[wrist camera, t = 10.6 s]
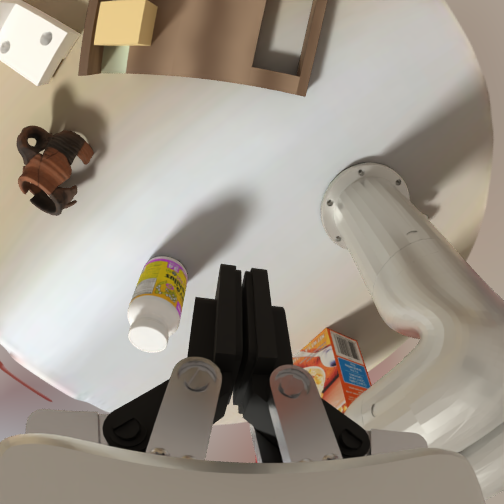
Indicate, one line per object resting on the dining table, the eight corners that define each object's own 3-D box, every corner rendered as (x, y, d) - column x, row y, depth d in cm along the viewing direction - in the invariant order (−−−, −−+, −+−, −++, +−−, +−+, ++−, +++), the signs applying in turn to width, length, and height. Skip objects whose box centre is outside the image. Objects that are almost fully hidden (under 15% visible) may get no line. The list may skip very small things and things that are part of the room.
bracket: (-4, 44, 24) (-40, 49, 17) (20, -1, 21) (-15, -4, 15) (52, 82, 29) (17, 91, 22) (81, 34, 26) (48, 32, 20)
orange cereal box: (326, 327, 52) (366, 496, 27) (357, 340, 55) (401, 491, 30) (252, 390, 63) (259, 525, 38) (282, 398, 65) (295, 524, 40)
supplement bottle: (195, 284, 46) (185, 353, 35) (156, 295, 47) (139, 361, 36) (176, 248, 42) (158, 315, 32) (135, 261, 43) (109, 326, 33)
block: (157, 6, 23) (145, -1, 20) (150, 45, 26) (137, 43, 22) (117, 7, 23) (100, 1, 19) (111, 45, 25) (93, 44, 22)
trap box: (327, -21, 24) (343, -35, 19) (300, 94, 32) (312, 100, 27) (123, -42, 21) (104, -56, 16) (101, 72, 29) (78, 75, 24)
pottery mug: (113, 166, 36) (77, 217, 32) (77, 179, 41) (47, 223, 37) (56, 96, 28) (9, 144, 23) (28, 122, 32) (-10, 165, 28)
